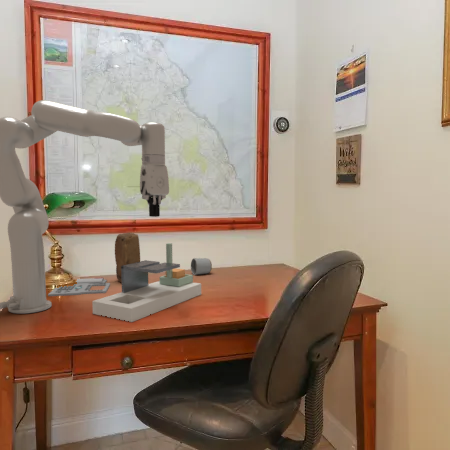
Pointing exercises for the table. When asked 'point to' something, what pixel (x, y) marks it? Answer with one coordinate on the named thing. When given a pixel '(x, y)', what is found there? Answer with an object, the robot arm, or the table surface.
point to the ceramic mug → (200, 266)
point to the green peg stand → (169, 279)
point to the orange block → (177, 273)
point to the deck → (144, 300)
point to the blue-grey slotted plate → (81, 287)
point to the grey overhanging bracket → (141, 273)
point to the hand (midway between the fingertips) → (154, 216)
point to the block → (126, 251)
